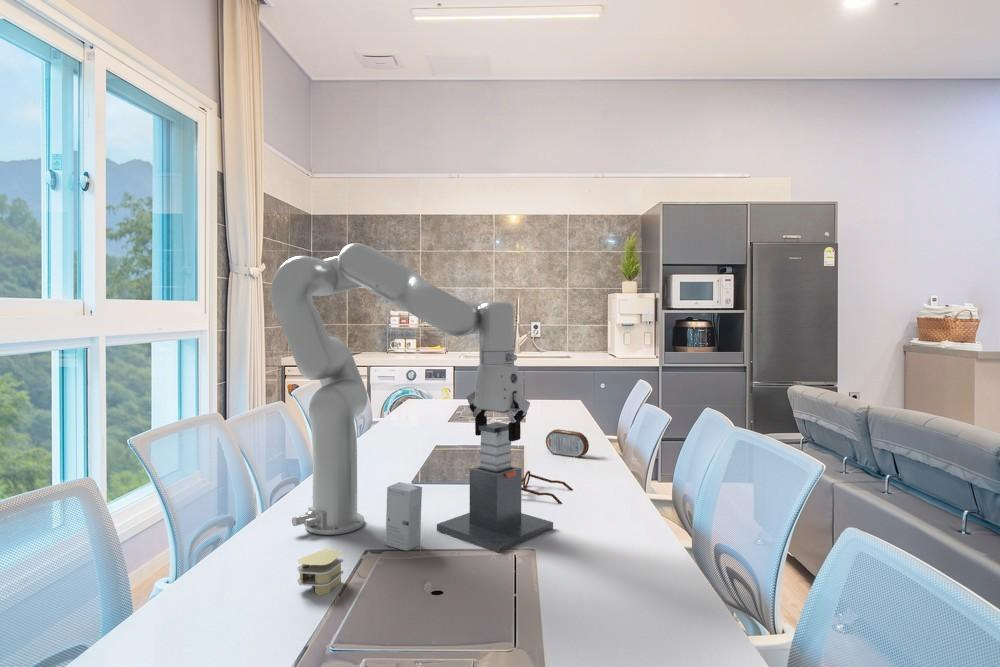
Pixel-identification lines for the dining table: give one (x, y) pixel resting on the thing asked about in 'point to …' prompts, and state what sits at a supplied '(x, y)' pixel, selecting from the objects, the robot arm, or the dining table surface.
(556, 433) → the tin
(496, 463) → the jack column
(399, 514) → the skincare box
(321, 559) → the beige layered block
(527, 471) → the glasses
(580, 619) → the dining table surface
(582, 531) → the dining table surface
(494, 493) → the base
